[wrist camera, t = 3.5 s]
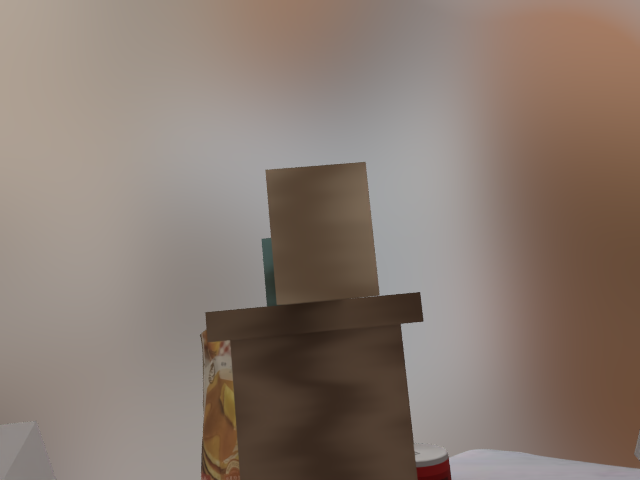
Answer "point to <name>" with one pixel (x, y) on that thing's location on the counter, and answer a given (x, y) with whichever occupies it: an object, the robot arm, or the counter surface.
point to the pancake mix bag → (218, 413)
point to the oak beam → (319, 235)
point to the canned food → (431, 462)
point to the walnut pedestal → (321, 388)
